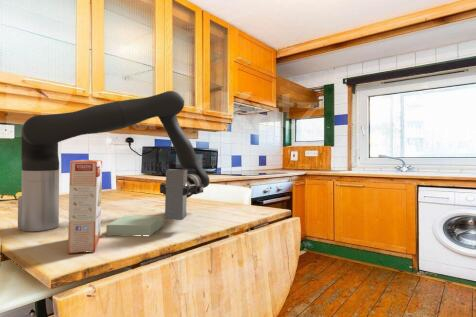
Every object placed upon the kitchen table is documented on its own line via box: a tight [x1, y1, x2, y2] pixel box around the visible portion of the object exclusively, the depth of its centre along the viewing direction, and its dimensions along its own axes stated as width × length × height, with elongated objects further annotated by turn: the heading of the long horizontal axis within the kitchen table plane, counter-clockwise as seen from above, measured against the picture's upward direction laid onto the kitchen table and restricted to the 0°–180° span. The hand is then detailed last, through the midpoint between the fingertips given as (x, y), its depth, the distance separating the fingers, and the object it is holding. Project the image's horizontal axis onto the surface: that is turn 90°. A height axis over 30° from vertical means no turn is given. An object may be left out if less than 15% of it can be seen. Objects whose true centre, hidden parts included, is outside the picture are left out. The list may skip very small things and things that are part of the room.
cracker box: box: [67, 159, 103, 255], centre depth 71 cm, size 14×6×21 cm, turn 21°
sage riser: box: [105, 215, 164, 237], centre depth 85 cm, size 12×12×3 cm
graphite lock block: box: [164, 168, 188, 221], centre depth 84 cm, size 5×5×14 cm
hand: (174, 191), depth 81 cm, fingers closed on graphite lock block, 5 cm apart
